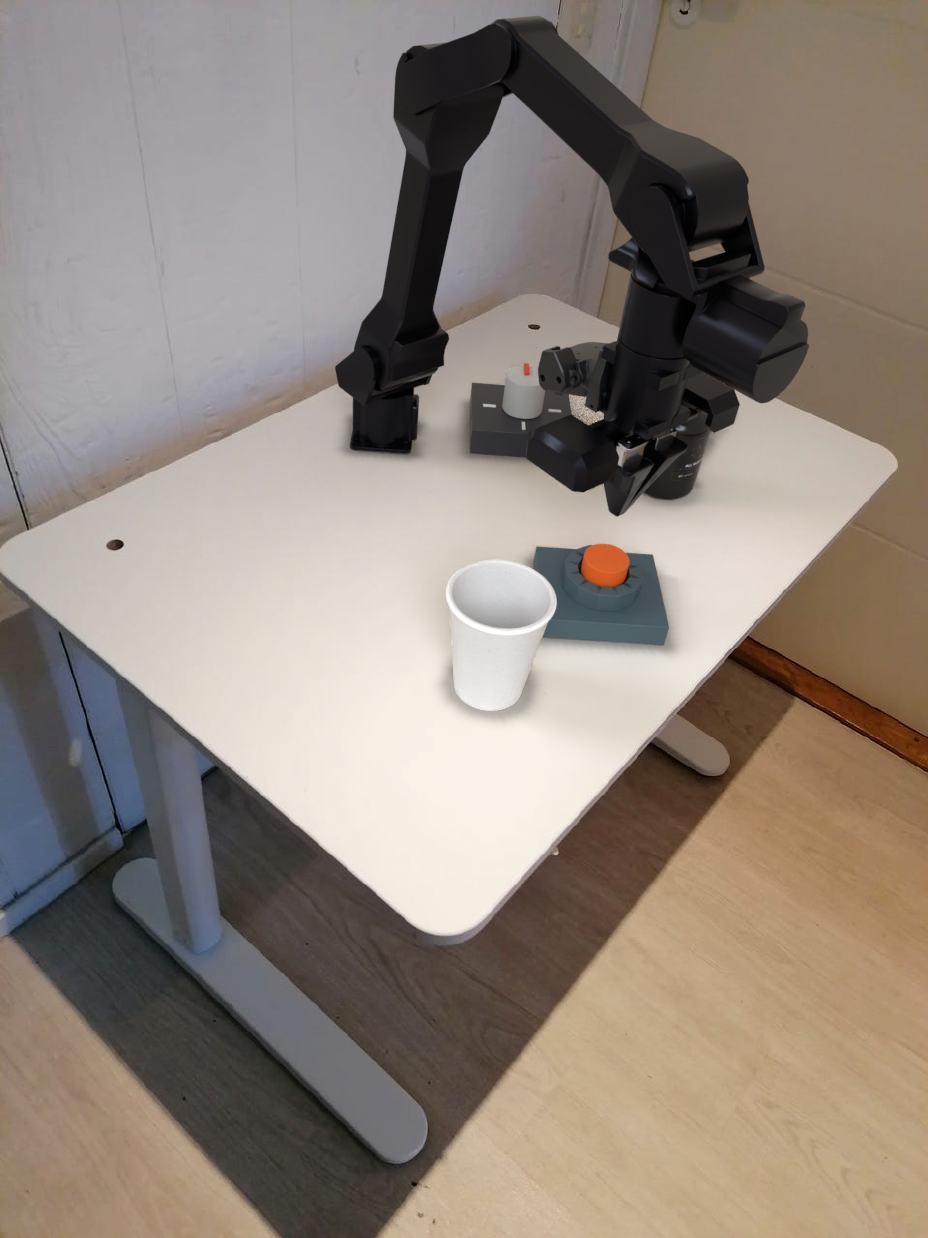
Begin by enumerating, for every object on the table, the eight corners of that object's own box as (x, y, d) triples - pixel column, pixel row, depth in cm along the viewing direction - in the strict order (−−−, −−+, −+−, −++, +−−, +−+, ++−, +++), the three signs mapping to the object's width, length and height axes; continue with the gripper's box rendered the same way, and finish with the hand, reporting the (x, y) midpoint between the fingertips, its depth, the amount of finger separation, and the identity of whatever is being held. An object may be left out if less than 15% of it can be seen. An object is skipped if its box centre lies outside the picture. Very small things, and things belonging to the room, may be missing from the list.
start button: (582, 586, 84) (586, 570, 83) (578, 557, 87) (582, 541, 86) (628, 589, 84) (632, 573, 83) (622, 560, 87) (626, 544, 86)
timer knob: (543, 420, 105) (548, 384, 102) (502, 417, 104) (507, 381, 102) (541, 399, 108) (546, 364, 105) (501, 396, 108) (506, 361, 105)
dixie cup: (559, 700, 79) (579, 609, 72) (473, 738, 75) (486, 646, 68) (501, 636, 84) (515, 546, 77) (417, 669, 80) (425, 577, 73)
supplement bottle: (692, 507, 100) (722, 407, 92) (627, 495, 101) (650, 395, 93) (695, 469, 105) (723, 371, 97) (632, 458, 106) (654, 360, 97)
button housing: (538, 637, 84) (545, 603, 81) (533, 564, 91) (539, 530, 89) (663, 645, 85) (674, 612, 82) (648, 572, 92) (657, 538, 89)
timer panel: (469, 453, 104) (472, 428, 102) (469, 405, 112) (472, 380, 109) (570, 461, 105) (575, 436, 103) (564, 412, 112) (568, 388, 110)
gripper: (659, 273, 80) (622, 436, 90) (488, 325, 70) (469, 501, 81) (767, 327, 74) (714, 495, 85) (598, 393, 64) (562, 573, 75)
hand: (616, 512), depth 81 cm, fingers closed
